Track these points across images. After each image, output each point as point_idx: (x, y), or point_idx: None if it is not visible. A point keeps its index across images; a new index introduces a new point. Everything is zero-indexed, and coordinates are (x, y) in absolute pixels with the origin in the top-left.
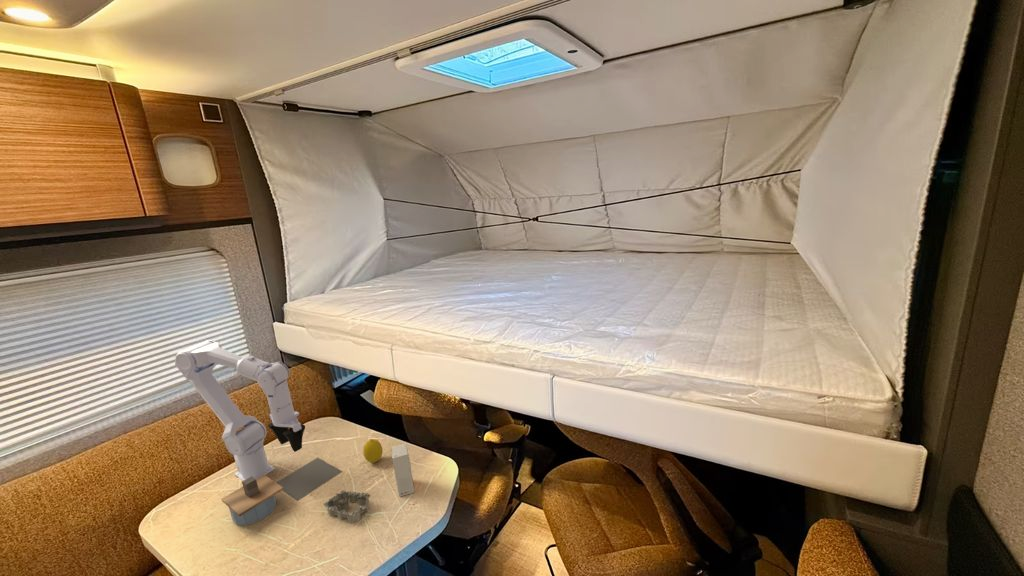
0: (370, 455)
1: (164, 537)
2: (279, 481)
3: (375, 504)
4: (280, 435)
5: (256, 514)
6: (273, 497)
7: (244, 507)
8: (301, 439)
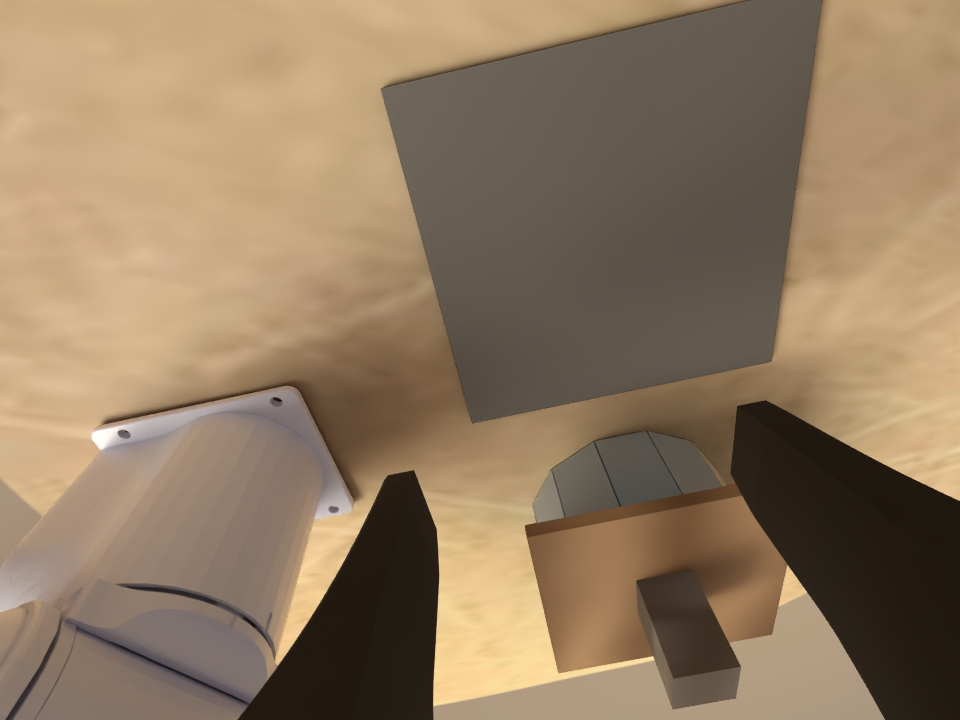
0: None
1: (470, 686)
2: (477, 393)
3: None
4: (420, 650)
5: None
6: (712, 483)
7: (744, 619)
8: (907, 487)
